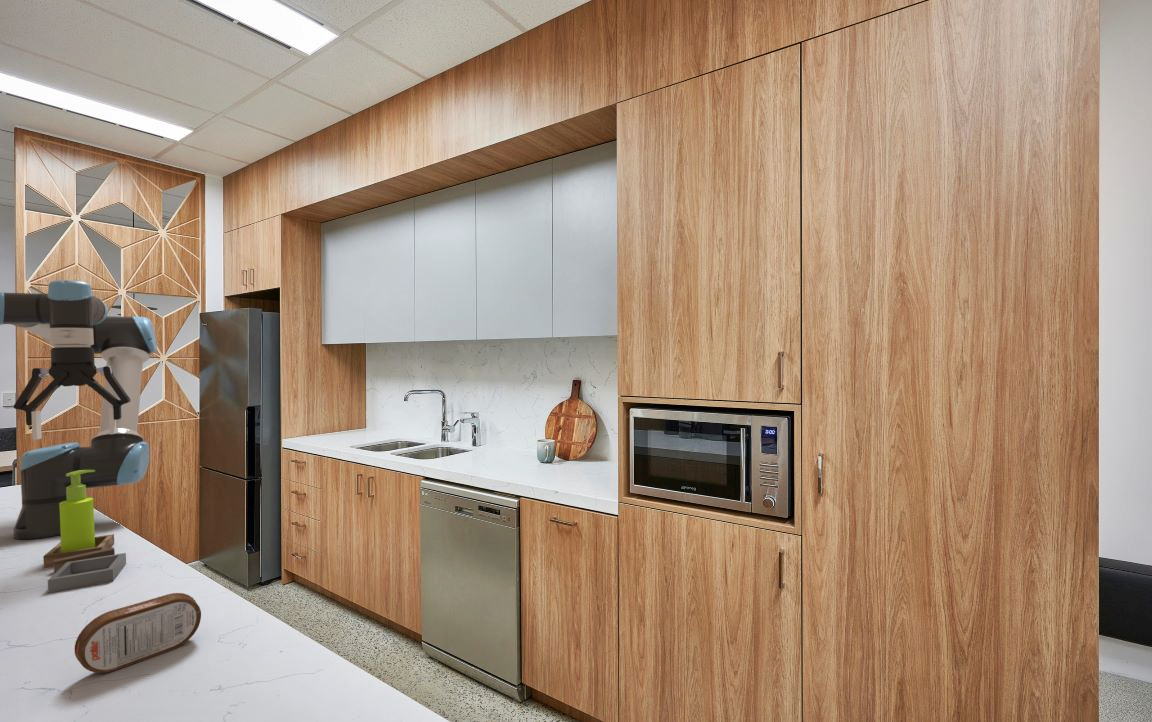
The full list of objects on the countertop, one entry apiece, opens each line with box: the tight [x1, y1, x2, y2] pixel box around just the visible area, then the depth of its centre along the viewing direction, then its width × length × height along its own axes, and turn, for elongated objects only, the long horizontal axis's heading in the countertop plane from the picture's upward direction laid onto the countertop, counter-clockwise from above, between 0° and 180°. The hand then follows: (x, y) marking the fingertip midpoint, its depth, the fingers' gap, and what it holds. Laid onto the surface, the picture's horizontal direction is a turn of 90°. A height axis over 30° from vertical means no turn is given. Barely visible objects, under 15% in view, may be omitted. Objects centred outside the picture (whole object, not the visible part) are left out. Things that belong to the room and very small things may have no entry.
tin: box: [74, 592, 202, 674], centre depth 82 cm, size 15×3×8 cm, turn 141°
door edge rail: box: [53, 546, 116, 575], centre depth 121 cm, size 2×10×2 cm, turn 136°
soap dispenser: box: [59, 470, 96, 552], centre depth 128 cm, size 6×7×20 cm
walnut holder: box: [42, 533, 115, 568], centre depth 128 cm, size 11×10×2 cm
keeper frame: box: [47, 552, 127, 594], centre depth 114 cm, size 11×10×2 cm
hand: (76, 436), depth 127 cm, fingers open, 13 cm apart
